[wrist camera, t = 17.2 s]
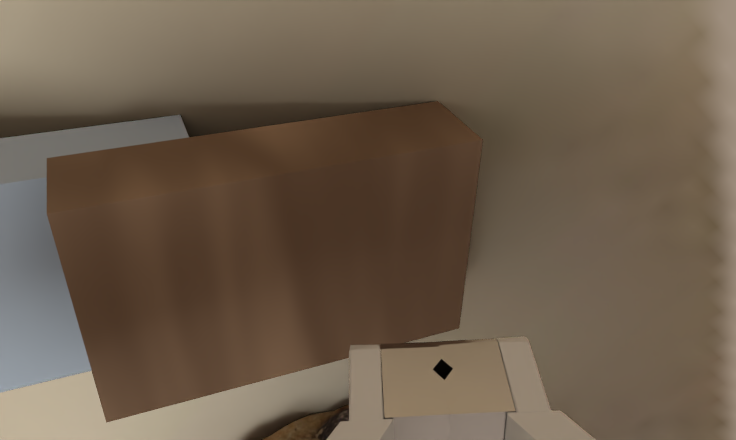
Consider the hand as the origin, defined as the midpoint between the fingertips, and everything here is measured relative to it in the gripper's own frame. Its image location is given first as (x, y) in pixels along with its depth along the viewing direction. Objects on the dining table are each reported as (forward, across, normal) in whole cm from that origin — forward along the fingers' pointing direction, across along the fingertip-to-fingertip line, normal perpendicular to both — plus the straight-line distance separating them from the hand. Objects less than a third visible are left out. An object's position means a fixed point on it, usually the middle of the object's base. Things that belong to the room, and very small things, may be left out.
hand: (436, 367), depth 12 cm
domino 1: (+5, -1, 0) cm, 5 cm away
